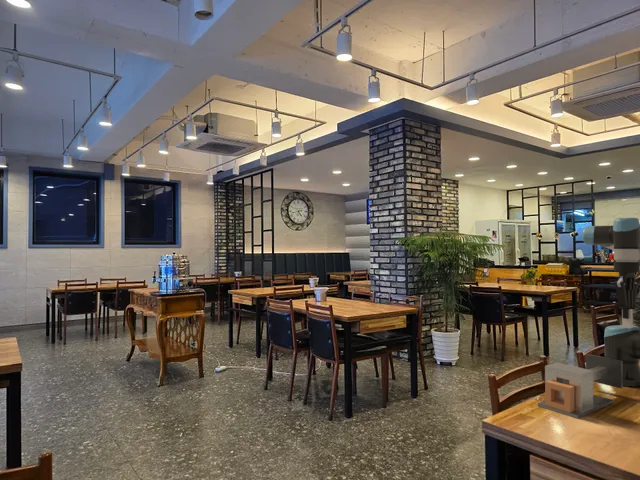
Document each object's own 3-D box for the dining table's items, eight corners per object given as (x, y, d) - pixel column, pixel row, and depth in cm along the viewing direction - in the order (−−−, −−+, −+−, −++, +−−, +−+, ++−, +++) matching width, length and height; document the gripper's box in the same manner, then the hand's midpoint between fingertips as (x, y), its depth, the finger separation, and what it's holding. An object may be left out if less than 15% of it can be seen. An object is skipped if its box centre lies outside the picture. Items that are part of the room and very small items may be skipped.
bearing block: (574, 392, 161) (574, 357, 162) (613, 402, 151) (612, 364, 151) (537, 405, 147) (537, 367, 147) (577, 418, 136) (577, 376, 136)
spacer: (549, 403, 147) (549, 380, 147) (574, 410, 140) (574, 386, 140) (545, 405, 145) (545, 381, 145) (570, 412, 138) (569, 388, 139)
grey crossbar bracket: (587, 379, 166) (587, 353, 166) (622, 387, 156) (622, 360, 157) (551, 392, 151) (551, 363, 151) (587, 402, 141) (587, 372, 141)
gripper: (623, 260, 157) (624, 324, 157) (605, 261, 151) (606, 327, 150) (647, 261, 151) (648, 327, 151) (630, 261, 144) (631, 331, 144)
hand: (627, 327), depth 150 cm, fingers closed
